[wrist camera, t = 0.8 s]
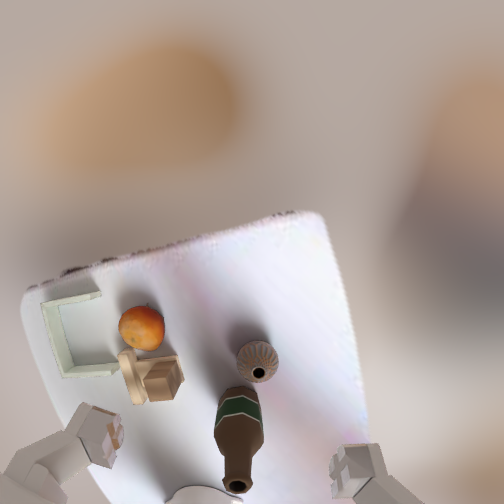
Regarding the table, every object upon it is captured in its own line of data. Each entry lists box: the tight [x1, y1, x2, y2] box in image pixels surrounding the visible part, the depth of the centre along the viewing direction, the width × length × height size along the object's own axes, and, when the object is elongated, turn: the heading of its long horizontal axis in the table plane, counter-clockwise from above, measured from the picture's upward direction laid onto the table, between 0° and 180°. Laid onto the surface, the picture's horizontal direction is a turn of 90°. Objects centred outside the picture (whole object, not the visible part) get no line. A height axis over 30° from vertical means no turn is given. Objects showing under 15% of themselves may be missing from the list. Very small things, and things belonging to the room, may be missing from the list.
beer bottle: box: [214, 386, 264, 494], centre depth 41 cm, size 8×8×24 cm
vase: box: [237, 341, 279, 383], centre depth 49 cm, size 7×7×9 cm
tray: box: [40, 291, 120, 378], centre depth 50 cm, size 15×12×4 cm
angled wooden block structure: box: [117, 348, 185, 405], centre depth 48 cm, size 10×10×10 cm
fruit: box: [118, 303, 165, 351], centre depth 50 cm, size 8×8×8 cm
